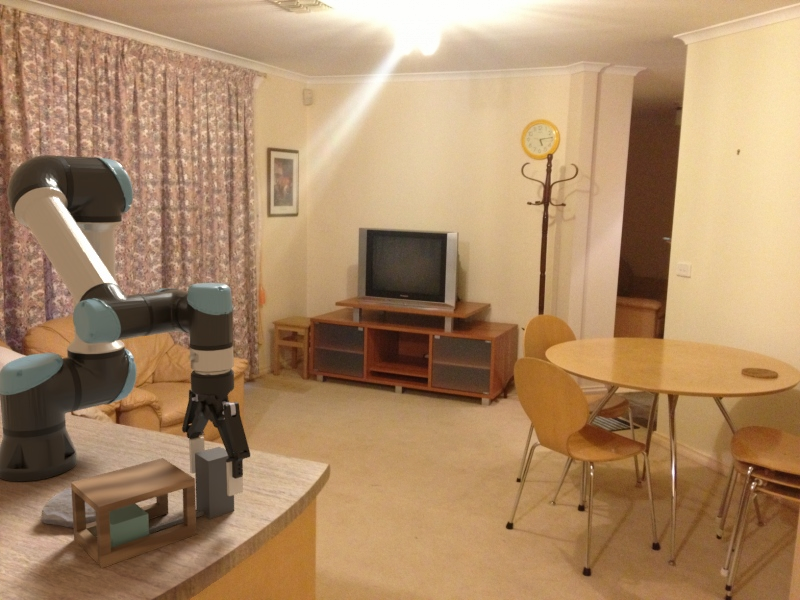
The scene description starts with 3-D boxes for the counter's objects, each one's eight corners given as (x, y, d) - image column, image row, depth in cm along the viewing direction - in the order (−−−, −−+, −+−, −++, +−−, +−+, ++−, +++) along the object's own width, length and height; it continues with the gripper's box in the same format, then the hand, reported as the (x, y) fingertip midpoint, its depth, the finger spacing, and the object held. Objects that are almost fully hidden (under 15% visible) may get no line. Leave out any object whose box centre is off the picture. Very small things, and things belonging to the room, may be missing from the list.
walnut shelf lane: (74, 539, 116) (71, 482, 115) (164, 510, 127) (162, 457, 126) (102, 568, 108) (98, 506, 106) (196, 534, 119) (194, 478, 117)
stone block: (105, 539, 120) (124, 502, 130) (100, 516, 119) (120, 481, 128) (36, 541, 120) (60, 504, 129) (30, 518, 118) (55, 483, 128)
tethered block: (99, 540, 116) (96, 478, 114) (219, 500, 132) (218, 445, 130) (113, 554, 112) (110, 490, 110) (235, 511, 127) (234, 455, 126)
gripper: (161, 360, 130) (165, 467, 133) (229, 387, 112) (233, 510, 115) (197, 354, 135) (201, 457, 138) (269, 379, 117) (271, 497, 120)
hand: (215, 482), depth 127 cm, fingers open, 13 cm apart
